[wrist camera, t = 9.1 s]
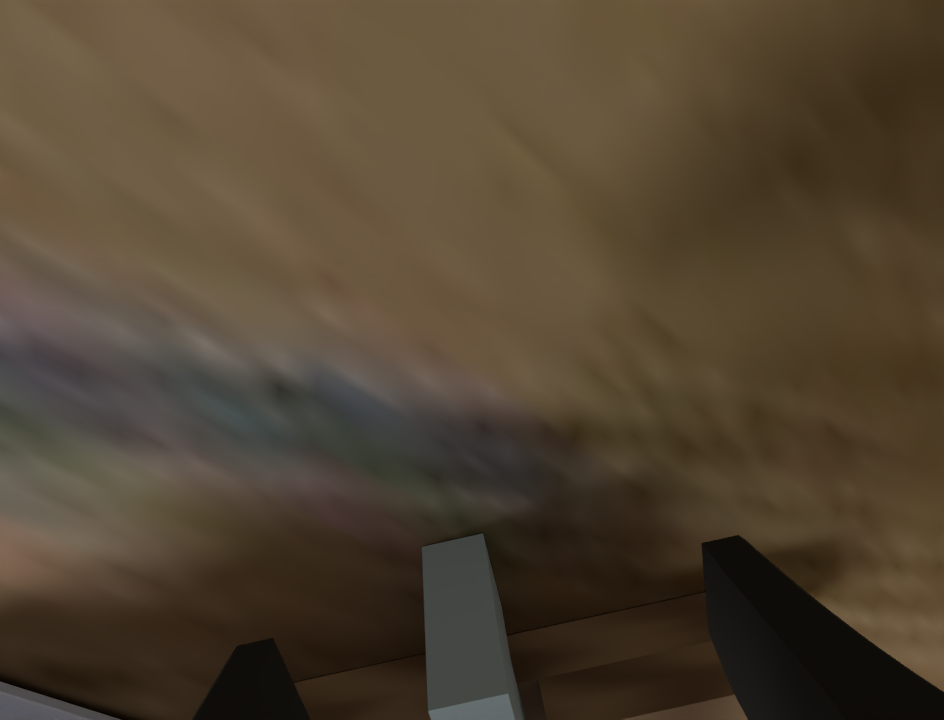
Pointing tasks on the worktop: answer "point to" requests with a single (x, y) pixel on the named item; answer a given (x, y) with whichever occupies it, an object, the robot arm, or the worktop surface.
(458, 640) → the grey notched plate
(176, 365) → the worktop surface
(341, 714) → the walnut slotted rail
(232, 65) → the worktop surface
